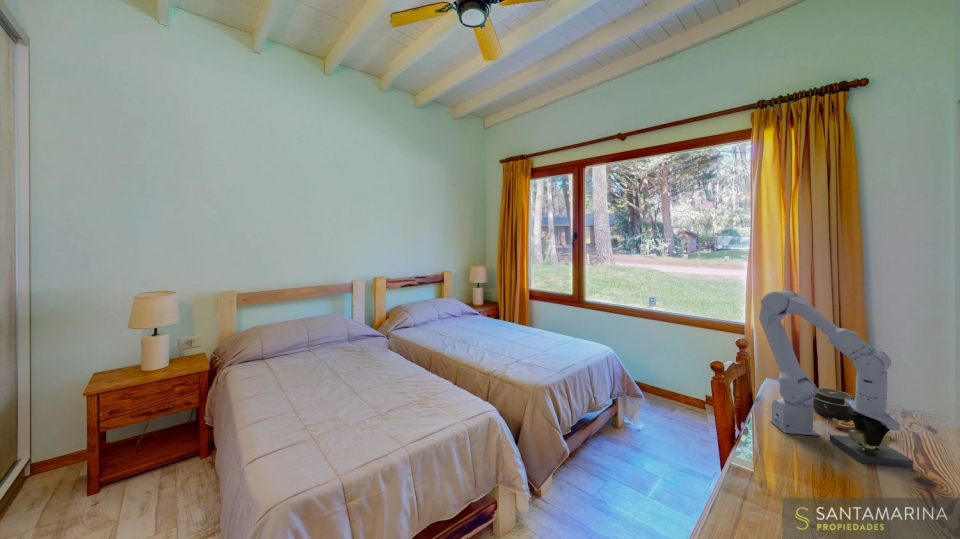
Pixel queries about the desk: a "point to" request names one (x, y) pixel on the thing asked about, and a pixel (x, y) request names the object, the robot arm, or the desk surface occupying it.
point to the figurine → (843, 424)
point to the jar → (832, 404)
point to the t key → (862, 438)
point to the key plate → (871, 453)
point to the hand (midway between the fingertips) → (868, 442)
